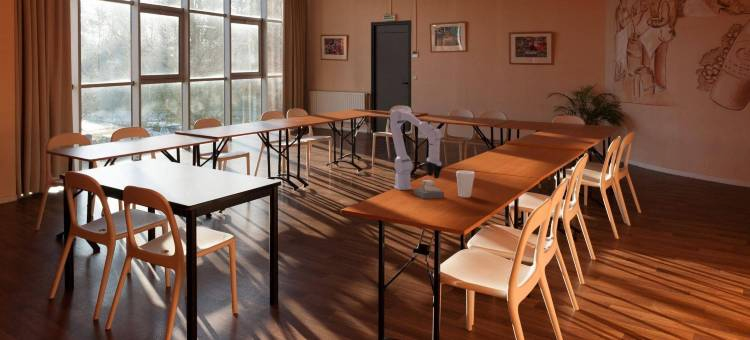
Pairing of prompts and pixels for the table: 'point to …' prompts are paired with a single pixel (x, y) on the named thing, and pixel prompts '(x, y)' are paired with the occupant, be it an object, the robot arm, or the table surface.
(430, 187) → the cream cube
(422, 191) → the charcoal plinth
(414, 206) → the table surface
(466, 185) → the foam cup
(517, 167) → the table surface
